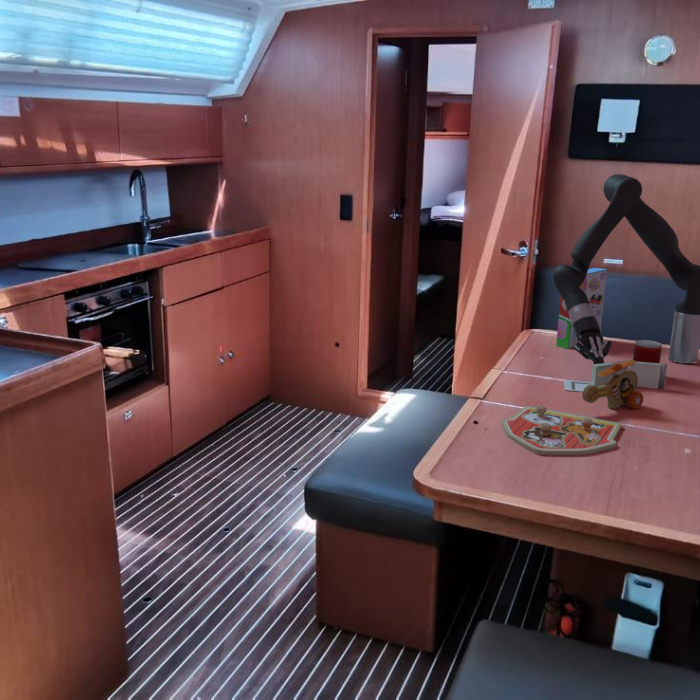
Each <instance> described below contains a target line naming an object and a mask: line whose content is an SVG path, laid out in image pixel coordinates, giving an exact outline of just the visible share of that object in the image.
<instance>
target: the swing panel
mask: <svg viewBox="0 0 700 700" xmlns="http://www.w3.org/2000/svg"><path fill="white" fill-rule="evenodd" d="M622 362H623V361H618V360H617V361H609V362H605V363H601V364H594V363H593V364H592V365H591V367H592V369H591V378H590V379H591V380H590V382H591V385H593V386H596V387H597V386H600V385H603V384H607V383H608V382H609V380H610V379H611V378H612V377H613V374H610V375H607V376H605V377H599V376H598V373H599V372H601V371H603V370H606V369H608V368H611V367H612V366H613V364H615V363H618V364H619V363H622Z"/></svg>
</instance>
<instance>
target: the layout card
mask: <svg viewBox="0 0 700 700" xmlns="http://www.w3.org/2000/svg"><path fill="white" fill-rule="evenodd" d="M563 382H564V386H563V387H564V391H565V392H567V391H568V392H577V393H583V390H584V388H585V387H586V386H588V385H591V381H583V380H570V379H564V380H563Z"/></svg>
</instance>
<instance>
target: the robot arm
mask: <svg viewBox="0 0 700 700" xmlns="http://www.w3.org/2000/svg"><path fill="white" fill-rule="evenodd" d="M603 194H604V197H605V198H606V200H607V201H608V202H609V204H608V206H607V208H606V209H605V211H604V212H603V213H602V214H601V216H599V218H598V219H597V220H596V221H595V222H593V223H592V224H591V225H590V226H589V227H588V228H587V229H586V230H585V231H584V232H583V233H582V234H581V236H580V238H579V239H578V241H576V244H575V245H574V247H573V248H572V250H571V253H570V257H571V258H572V262H571V265H568V264H560V265H558V266H556V268H554V270H553V273H552V280H553V284H554V285H555V288H556V289H557V292H558V293H559V294H560V297H561V296H562V298H563V299H564V301H565V304H566V307H567V310H568V313H569V317H570V321H571V324H572V326H573V329H574V332H575V335H576V337H577V338H578V343H577V344H576V345H575V346H574V347H573V349H574V350H575V351H576V352H577V353H579V355H580V356H582V357H583V358H584V359H586V360H587V361H589V360H591V361H592V363H593V364H601V363H606V362H605V360H604V358H605V357H607V356H608V354H609V352H610V349H611V347H612V344H613V343H612V341H611V340H605V338H604V336H603V335H602V334H600V327H599V325H598V322H597V319H596V317H595V314H594V311H593V309H592V308H591V306H590V303H589V300H588V298H587V295H586V293H585V292H584V291H583V290H582V289H581V288H580V286H581V285H582V283H583V282H584V280H585V277H586V275H587V272H588V269H590V265H591V262H592V261H593V260H594V258H595V257H596V255H597V253H598V252H599V250H600V249H601V247H602V246H603V244H604V243H605V241H606V240H607V238H608V237H609V236H610V234H611V233H612V232H613V231H614V230H615V228H616V227H617V226H618V225H619V224H620V222H621V221H622V220H623V219H624V218H625V219H626V220H627V222H628V223H629V225H630V226H631V228H632V229H633V230H634V231H635V233H636V234H637V235H638V236H639V238H640V239H641V241H642V242H643V244H644V245H645V246H646V247H647V248H648V249H649V250H650V252H651V253H652V254H653V256H655V258H656V259H657V260H658V261H659V263H661V265H662V266H663V267H664V268H665V270H666V271H667V272H668V275H669V276H670V278H671V280H672V281H673V282H674V284H675V285H676V287H678V288H679V289H681V290H682V291H686V293H685V298H684V299H683V300H680V301H677V302H676V303H675V305H674V306H675V307H674V313H673V314H674V315H673V321H672V330H671V337H670V344H669V350H668V351H669V352H668V358H669V359H670V360H672V361H676V362H681V363H693V362H697V363H698V361H699V360H698V359H699V352H700V264H696V263H693V262H691V261H690V260H689V259H688V258H687V257H686V256H685V255H684V254H683V252H682V251H681V249H680V245H679V244H680V243H679V238H678V236H677V233H676V231H675V230H674V229H673V228H672V227H671V225H670V224H669V223H668V221H667V220H666V219H665V218H664V217H663V216H661V215H660V214H659V212H657V211H655V209H653V208H652V207H650V206H649V205H648V204H646V202H645V201H643V199H642V198H641V196H642V194H643V186H642V183H641V182H640V180H638V179H637V178H634V177H633V176H632V177H631V176H629V175H627V174H620V173H618V174H617V173H616V174H612V175H611V176H609V177H607V179H606V180H605V181H604V184H603ZM668 358H667V359H668ZM669 359H668V360H669ZM670 360H669V361H670ZM672 361H671V362H672ZM681 363H680V364H681Z"/></svg>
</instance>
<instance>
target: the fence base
mask: <svg viewBox="0 0 700 700" xmlns="http://www.w3.org/2000/svg"><path fill="white" fill-rule="evenodd" d="M625 361H627V360H626V359H624V360H622V362H625ZM667 368H668V364H667V363H661V362H660V363H648V362H636V363H635V364H633V365H630V366H627V367H625V368H624V369H625V370H631V371H634V372H635V373H636V375H637V378H638V383H637V388H645V387H648V388H647V389H656V388H659V389H660V390H664V388H665V381H666V377H667Z"/></svg>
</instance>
